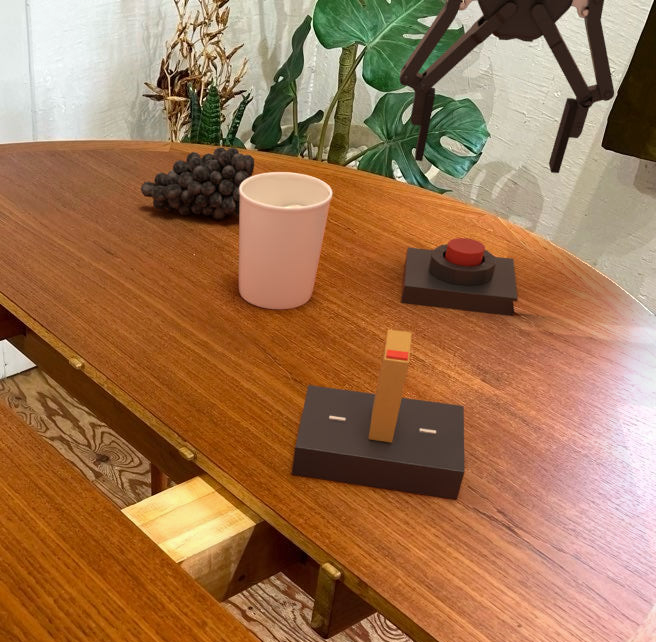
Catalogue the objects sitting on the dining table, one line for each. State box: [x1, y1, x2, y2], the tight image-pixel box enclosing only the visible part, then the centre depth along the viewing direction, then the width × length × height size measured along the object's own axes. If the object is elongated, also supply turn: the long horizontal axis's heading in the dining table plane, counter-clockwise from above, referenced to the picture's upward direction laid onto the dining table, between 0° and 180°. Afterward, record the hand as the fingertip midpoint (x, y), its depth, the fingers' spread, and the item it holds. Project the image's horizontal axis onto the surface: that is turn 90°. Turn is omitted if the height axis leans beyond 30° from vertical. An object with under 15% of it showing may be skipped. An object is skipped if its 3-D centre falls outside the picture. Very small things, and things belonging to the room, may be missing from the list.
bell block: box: [400, 243, 519, 317], centre depth 109 cm, size 12×10×4 cm
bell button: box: [445, 237, 486, 266], centre depth 107 cm, size 4×4×2 cm
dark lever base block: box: [291, 384, 466, 500], centre depth 85 cm, size 14×10×3 cm
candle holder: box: [238, 171, 333, 310], centre depth 105 cm, size 10×10×12 cm
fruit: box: [140, 147, 255, 220], centre depth 124 cm, size 9×8×15 cm
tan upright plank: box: [369, 329, 413, 443], centre depth 81 cm, size 5×2×8 cm, turn 166°
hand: (485, 162), depth 100 cm, fingers open, 13 cm apart
